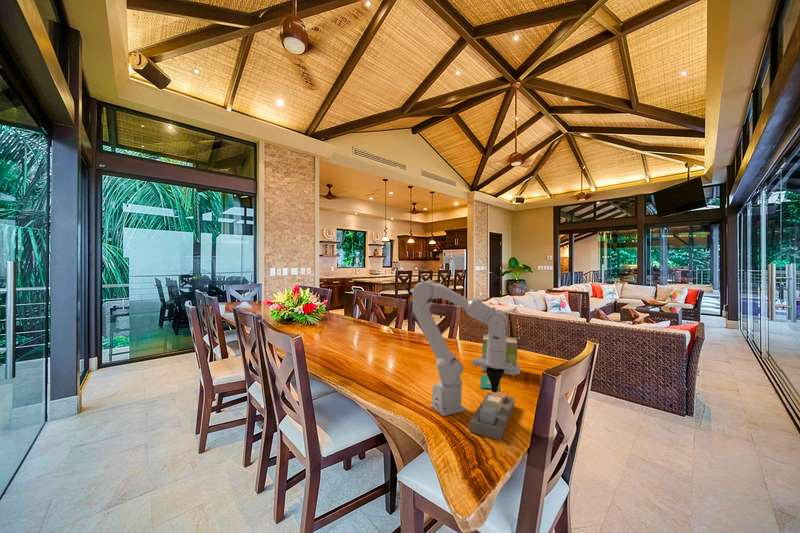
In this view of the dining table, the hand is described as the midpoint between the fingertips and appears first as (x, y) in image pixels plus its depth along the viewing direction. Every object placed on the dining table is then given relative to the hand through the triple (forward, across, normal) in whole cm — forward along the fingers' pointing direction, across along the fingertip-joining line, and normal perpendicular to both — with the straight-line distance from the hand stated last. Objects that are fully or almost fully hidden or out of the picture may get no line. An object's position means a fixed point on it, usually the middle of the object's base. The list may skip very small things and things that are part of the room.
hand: (494, 391), depth 102 cm
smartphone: (+9, +7, -28) cm, 31 cm away
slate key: (+7, 0, +9) cm, 11 cm away
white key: (+7, 0, +1) cm, 7 cm away
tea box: (+9, +6, -46) cm, 47 cm away
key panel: (+8, 0, 0) cm, 8 cm away
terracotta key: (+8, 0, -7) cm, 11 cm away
